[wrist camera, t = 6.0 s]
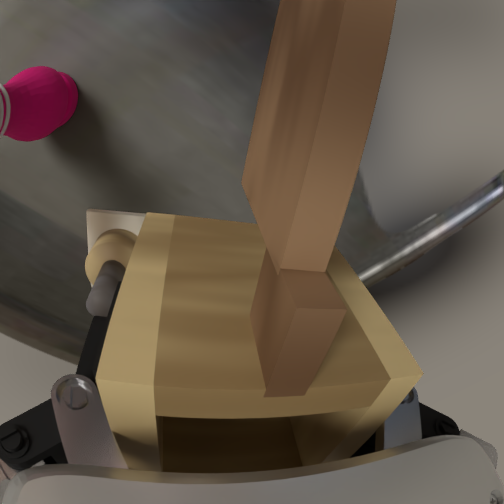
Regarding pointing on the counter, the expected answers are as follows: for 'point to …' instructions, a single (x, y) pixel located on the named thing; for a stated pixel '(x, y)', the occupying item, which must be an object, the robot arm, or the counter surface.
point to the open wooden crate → (265, 282)
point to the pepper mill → (36, 103)
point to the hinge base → (108, 253)
